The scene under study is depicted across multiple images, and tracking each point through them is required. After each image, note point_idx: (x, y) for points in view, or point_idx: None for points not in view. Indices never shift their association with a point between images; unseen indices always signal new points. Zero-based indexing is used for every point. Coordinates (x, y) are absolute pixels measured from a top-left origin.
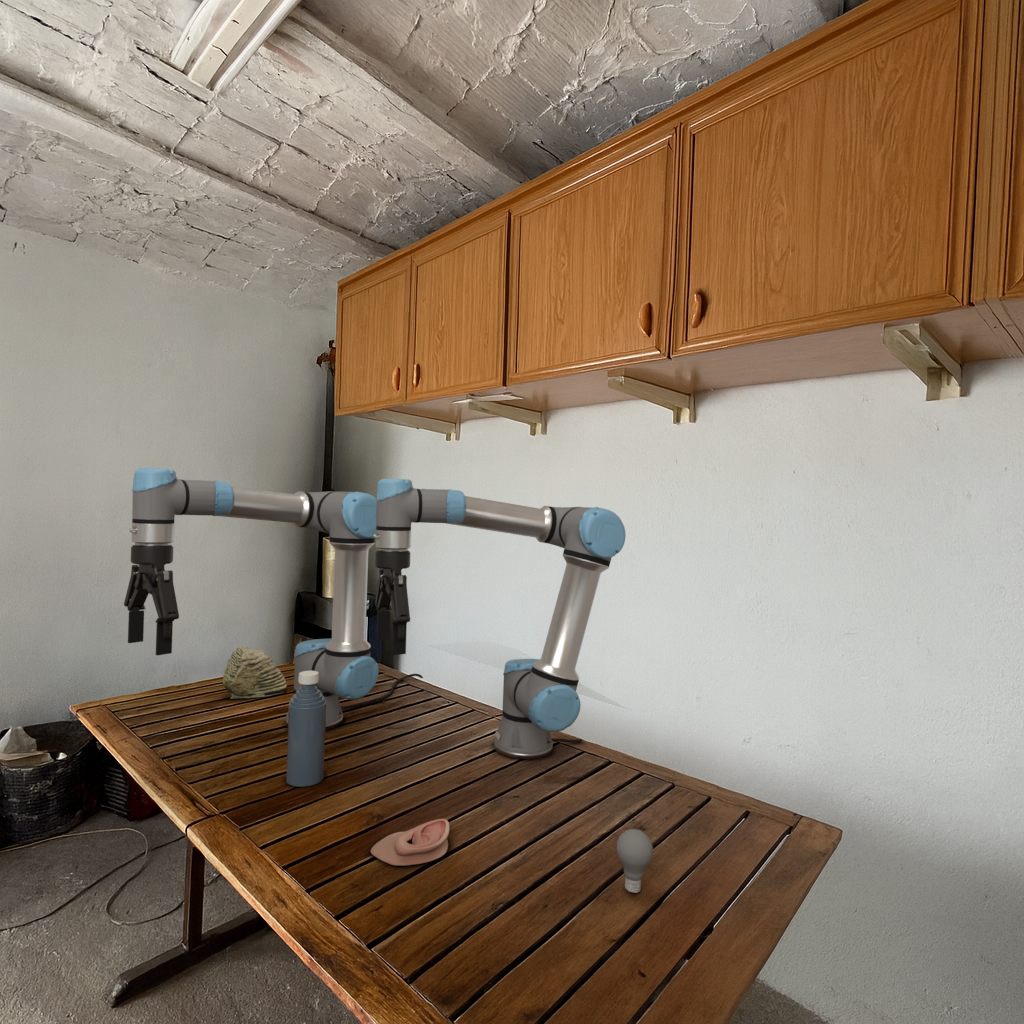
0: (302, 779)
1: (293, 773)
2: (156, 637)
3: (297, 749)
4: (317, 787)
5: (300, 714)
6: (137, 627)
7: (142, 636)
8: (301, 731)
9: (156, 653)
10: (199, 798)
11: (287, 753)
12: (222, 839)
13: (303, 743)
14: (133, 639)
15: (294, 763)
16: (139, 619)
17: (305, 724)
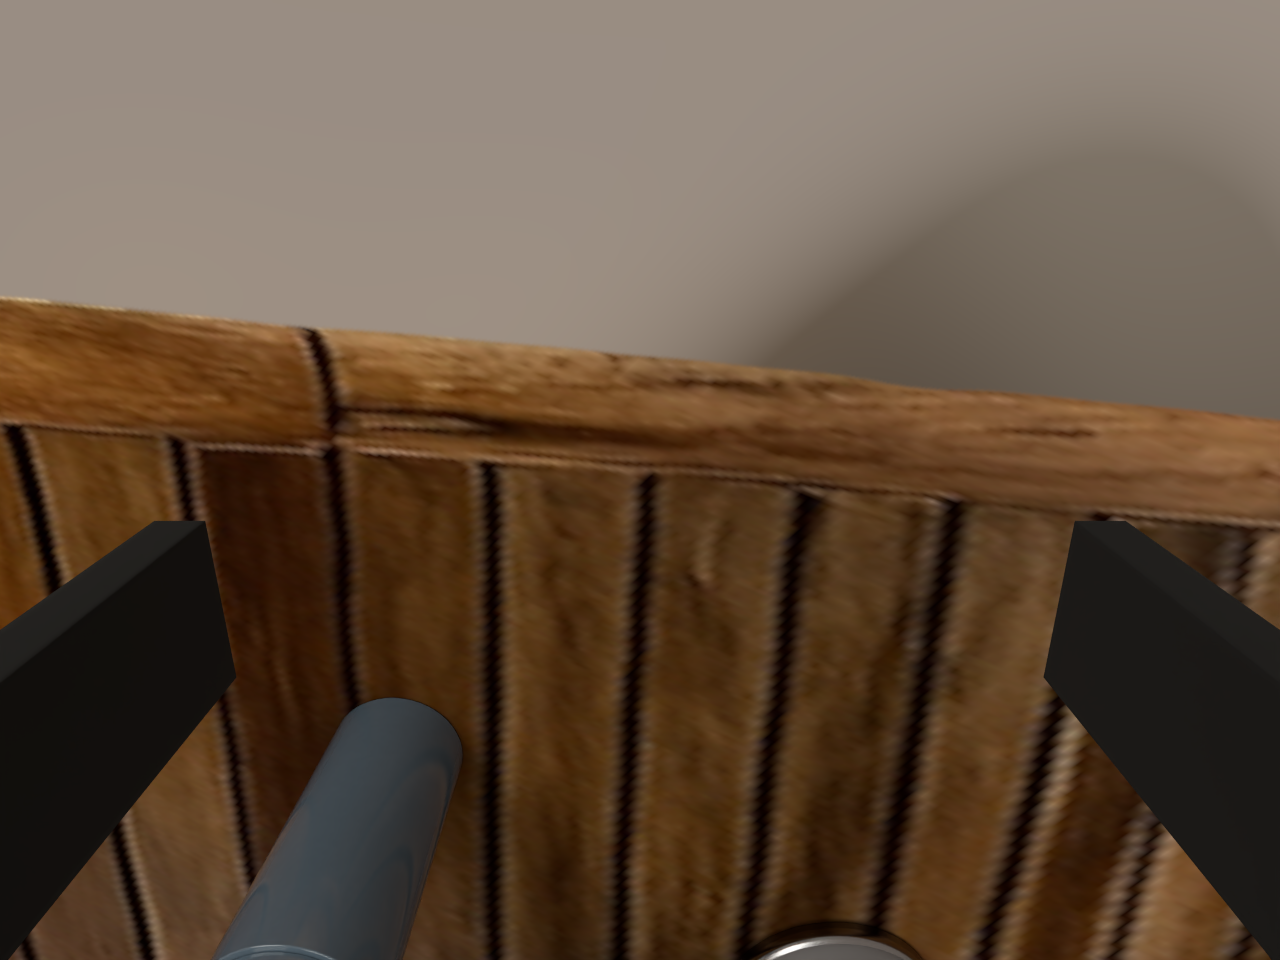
0: (336, 732)
1: (357, 728)
2: (35, 646)
3: (310, 799)
4: (309, 744)
5: (235, 930)
6: (1185, 741)
7: (1078, 708)
8: (267, 866)
9: (167, 530)
10: (496, 447)
11: (384, 771)
12: (141, 367)
13: (283, 831)
14: (1090, 591)
15: (341, 754)
16: (1277, 874)
17: (244, 902)
